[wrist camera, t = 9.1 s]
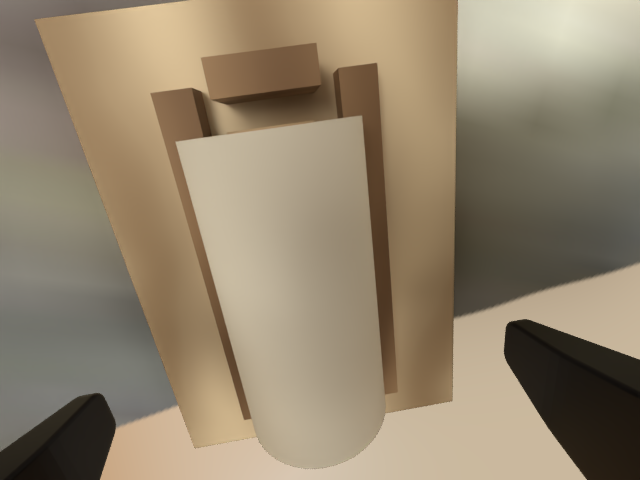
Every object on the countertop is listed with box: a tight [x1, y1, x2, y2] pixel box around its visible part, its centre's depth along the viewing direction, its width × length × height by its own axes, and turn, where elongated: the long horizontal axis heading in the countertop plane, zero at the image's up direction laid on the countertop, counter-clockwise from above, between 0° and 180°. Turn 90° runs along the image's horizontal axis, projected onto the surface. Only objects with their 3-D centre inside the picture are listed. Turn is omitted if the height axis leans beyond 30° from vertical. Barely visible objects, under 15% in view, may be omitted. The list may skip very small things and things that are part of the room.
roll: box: [176, 116, 386, 469], centre depth 11 cm, size 10×5×5 cm, turn 8°
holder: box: [34, 0, 458, 448], centre depth 12 cm, size 13×18×4 cm
